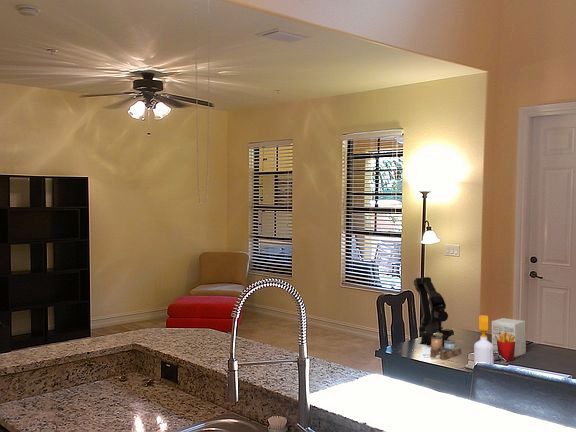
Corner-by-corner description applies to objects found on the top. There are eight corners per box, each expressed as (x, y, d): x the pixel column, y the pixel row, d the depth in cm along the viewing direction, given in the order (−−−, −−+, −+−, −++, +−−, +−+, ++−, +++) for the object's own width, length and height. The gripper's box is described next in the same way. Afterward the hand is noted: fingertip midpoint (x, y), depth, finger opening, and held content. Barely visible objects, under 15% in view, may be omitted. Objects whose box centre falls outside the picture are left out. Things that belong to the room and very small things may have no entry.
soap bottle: (493, 364, 289) (493, 314, 289) (493, 368, 280) (493, 318, 280) (474, 362, 292) (474, 314, 292) (474, 367, 283) (473, 317, 283)
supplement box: (502, 349, 320) (502, 317, 320) (526, 353, 311) (526, 320, 311) (491, 353, 311) (491, 320, 311) (515, 357, 302) (515, 324, 301)
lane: (446, 351, 316) (446, 344, 316) (461, 354, 310) (461, 346, 310) (429, 357, 304) (429, 349, 304) (445, 360, 298) (445, 352, 298)
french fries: (505, 358, 300) (505, 329, 300) (518, 361, 293) (518, 332, 293) (493, 360, 296) (493, 331, 296) (506, 364, 289) (506, 334, 289)
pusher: (441, 353, 310) (441, 347, 310) (452, 355, 305) (452, 349, 305) (434, 356, 305) (434, 349, 305) (445, 358, 300) (445, 351, 300)
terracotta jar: (428, 349, 321) (428, 336, 321) (434, 347, 325) (434, 334, 325) (438, 351, 317) (438, 337, 317) (443, 349, 321) (443, 336, 321)
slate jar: (442, 354, 310) (441, 340, 310) (447, 352, 314) (447, 339, 314) (451, 356, 306) (451, 342, 306) (457, 354, 310) (457, 340, 310)
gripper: (413, 318, 322) (413, 346, 322) (443, 322, 309) (444, 351, 309) (424, 315, 330) (424, 342, 330) (454, 319, 317) (454, 348, 317)
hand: (436, 346), depth 321 cm, fingers open, 8 cm apart
